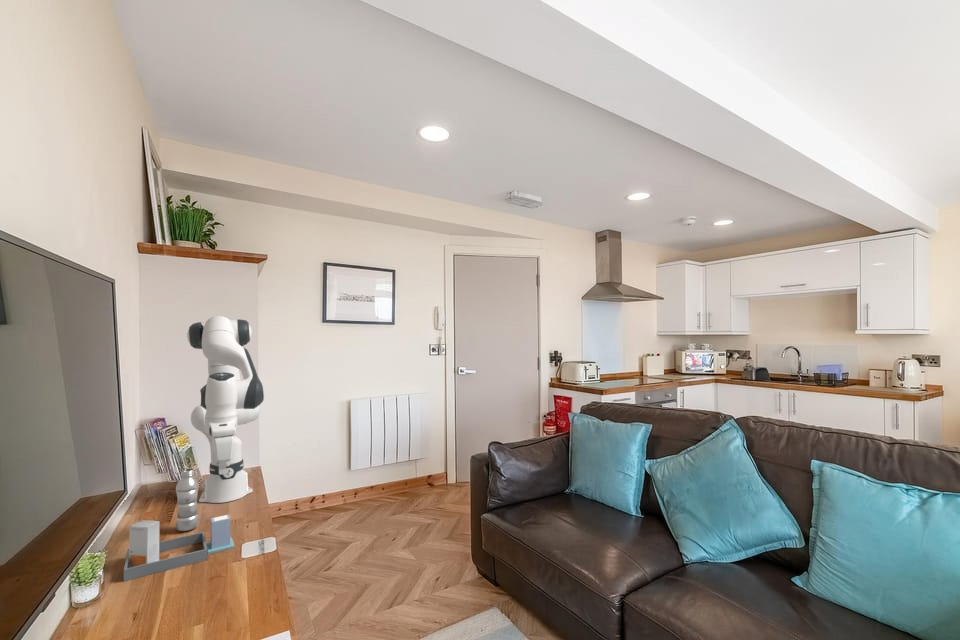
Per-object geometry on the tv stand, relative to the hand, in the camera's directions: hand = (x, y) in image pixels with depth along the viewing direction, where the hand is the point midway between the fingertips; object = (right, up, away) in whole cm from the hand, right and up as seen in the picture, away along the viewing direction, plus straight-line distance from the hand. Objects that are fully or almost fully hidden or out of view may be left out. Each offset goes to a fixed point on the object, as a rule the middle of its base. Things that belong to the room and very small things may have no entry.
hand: (220, 469), depth 139 cm
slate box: (0, -23, 0) cm, 23 cm away
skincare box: (-15, -24, -11) cm, 31 cm away
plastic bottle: (-18, -24, +11) cm, 32 cm away
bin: (-11, -24, -8) cm, 27 cm away
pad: (0, -24, 0) cm, 24 cm away
